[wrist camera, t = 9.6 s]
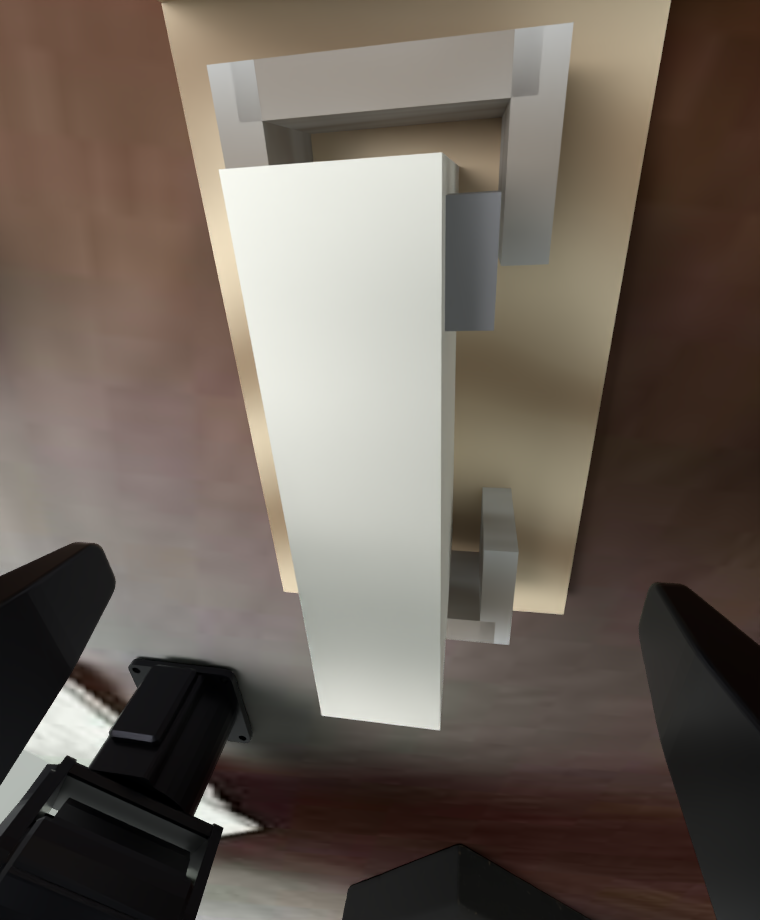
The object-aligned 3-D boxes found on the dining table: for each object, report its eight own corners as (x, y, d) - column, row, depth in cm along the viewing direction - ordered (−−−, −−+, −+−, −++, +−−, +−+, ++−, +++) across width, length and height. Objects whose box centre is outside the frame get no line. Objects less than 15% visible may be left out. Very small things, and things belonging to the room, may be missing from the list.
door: (473, 530, 19) (473, 734, 12) (375, 525, 19) (321, 715, 12) (490, 163, 13) (508, 146, 6) (348, 174, 13) (218, 168, 7)
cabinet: (558, 588, 21) (614, 863, 13) (294, 569, 23) (190, 795, 15) (675, -138, 11) (1452, -1362, 2) (176, -56, 13) (-418, -523, 4)
